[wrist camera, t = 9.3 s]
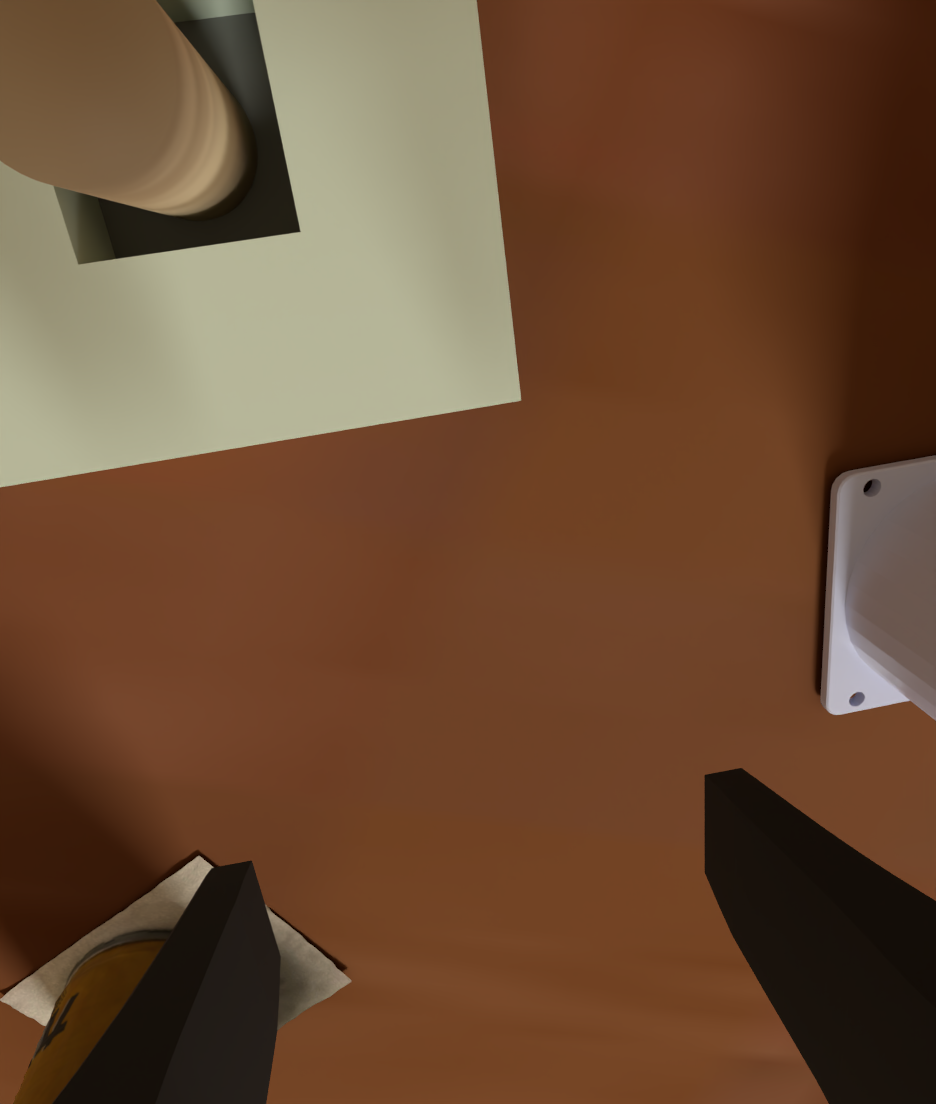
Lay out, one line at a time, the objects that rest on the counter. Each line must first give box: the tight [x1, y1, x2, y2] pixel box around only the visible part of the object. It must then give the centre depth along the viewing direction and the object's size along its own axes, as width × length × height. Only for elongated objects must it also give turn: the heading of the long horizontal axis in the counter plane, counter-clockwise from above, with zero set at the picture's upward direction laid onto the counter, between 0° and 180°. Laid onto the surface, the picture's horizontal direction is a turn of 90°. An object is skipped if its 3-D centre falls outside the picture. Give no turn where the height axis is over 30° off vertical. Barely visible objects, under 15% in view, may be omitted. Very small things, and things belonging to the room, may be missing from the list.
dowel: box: [0, 0, 257, 221], centre depth 12 cm, size 3×3×7 cm
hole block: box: [0, 0, 521, 487], centre depth 15 cm, size 12×12×3 cm
